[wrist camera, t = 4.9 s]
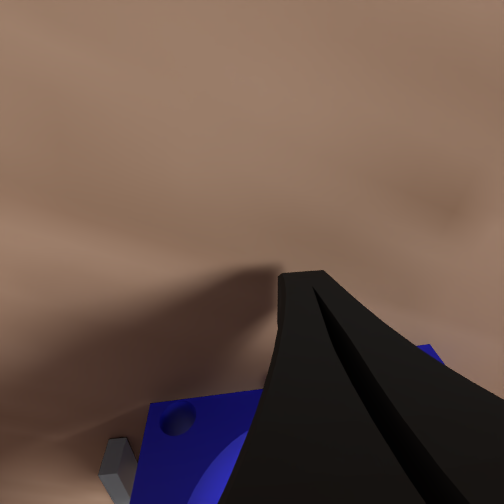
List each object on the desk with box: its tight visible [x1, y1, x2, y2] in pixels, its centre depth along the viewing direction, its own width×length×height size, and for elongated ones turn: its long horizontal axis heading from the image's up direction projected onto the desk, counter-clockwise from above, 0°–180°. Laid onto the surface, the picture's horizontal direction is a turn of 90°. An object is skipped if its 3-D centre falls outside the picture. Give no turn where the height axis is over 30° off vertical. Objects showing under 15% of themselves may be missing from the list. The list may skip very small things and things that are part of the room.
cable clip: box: [129, 344, 445, 504], centre depth 12 cm, size 12×4×6 cm, turn 95°
